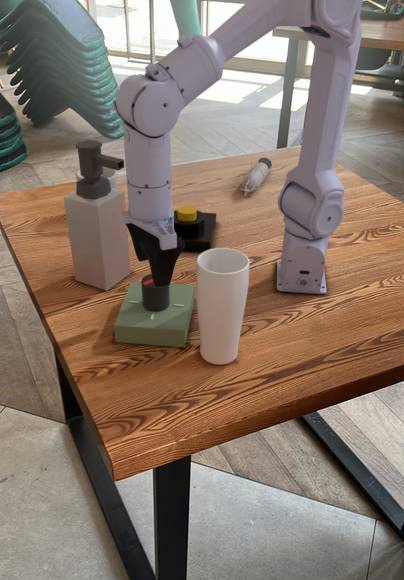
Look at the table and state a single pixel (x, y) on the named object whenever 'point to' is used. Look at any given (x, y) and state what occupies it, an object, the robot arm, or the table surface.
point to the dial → (154, 295)
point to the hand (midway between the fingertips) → (153, 271)
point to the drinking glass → (221, 302)
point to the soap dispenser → (97, 221)
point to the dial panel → (155, 318)
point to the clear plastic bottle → (256, 175)
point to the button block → (196, 231)
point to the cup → (107, 173)
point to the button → (186, 213)
